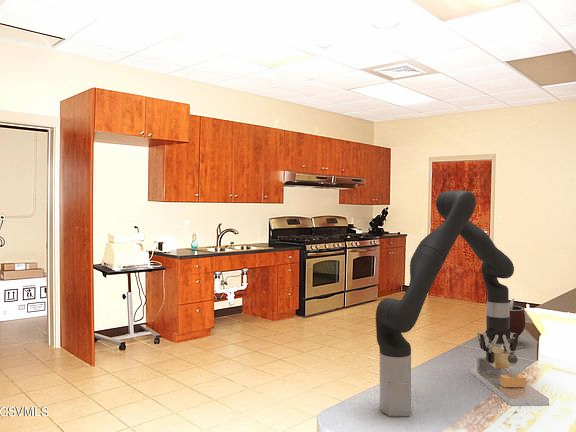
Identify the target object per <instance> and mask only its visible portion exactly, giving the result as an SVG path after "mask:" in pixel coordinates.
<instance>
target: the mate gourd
mask: <svg viewBox="0 0 576 432" xmlns="http://www.w3.org/2000/svg"><path fill="white" fill-rule="evenodd" d="M514 301H515V298H511V300H510V301H509V310H510V328H509V330H510V332H511V333H516V334H518V335H519V336H520V335H521V334H522V333H523V332H524V330H525V327H526V315H525V309H524V307H522V306H518V305H514V303H515V302H514ZM507 341H508V344H510V341H511V338H510V336H509V338H508V339H507ZM501 346H502V344H500V343H499V344H495V347H501ZM523 348H524V344H522V343H521V342H517V346H516V350H521V349H523Z"/></svg>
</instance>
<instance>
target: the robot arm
mask: <svg viewBox="0 0 576 432" xmlns="http://www.w3.org/2000/svg"><path fill="white" fill-rule="evenodd" d="M476 203H477V200H476V196H475V195H474V193H473V192H471V191H469V190H447V191H446V190H445V191H443V192H441V193H439V194H438V196H437V197H436V200H435V209H436V211H437V213H438V214H439V215H440V216H441V218H442V219H443V222H442V223H441V224H440V225H439V226H438V227H437V228H435V229H433V230H432V231H431V232H430V233H429V234H427V235H426V236H425V237H424V238H423V239H422V240H421V241H420V242H419V243H418V245H417V247H416V249H415V251H414V253H412V256H411V258H410V261H409V275H410V276H409V277H410V278H409V284H408V287H407V288H406V291H405V293H404V295H403V297H402V298H401V299H396V298H393V297H386V298H383V299H382V300H380V302H378V305H377V307H376V310H375V311H376V312H375V329H376V331H375V333H376V334H375V335H376V342H377V344H378V347H379V410H380V411H381V412H382V413H383V414H385V415H387V417H410V416H411V413H412V345H411V344H410V342H409V341H408V340H407V339H406V338H405V337H404V336H403V334H406V333H408V332H410V331H411V330H412V329H413V328H414V326H415V325H416V324H417V321H418V319H419V317H420V314H421V311H422V309H423V307H424V304H425V301H426V298H427V296H428V294H429V291H430V290H431V288H432V286H433V284H434V282H435V281H436V278H437V276H438V274H439V273H440V271H441V270H442V268H443V265H444V264H445V261H446V260H447V257H448V255H449V253H450V252H451V250H452V248H453V246H454V244H455V242H456V241H457V239H458V238H459V236H460V237H462V239H463V240H465V242H466V243H467V245H468V246H469V248H470V249H471V250H472V251H473V253H474V255H475V256H476V257H477V258H478V260H479V261H481V274H482V278H483V281H484V285H485V288H486V306H485V314H486V315H485V319H486V321H485V322H486V323H485V325H486V326H485V327H486V330H485V332H481V333H480V332H478V333H477V339H478V342H479V348H480V349H481V350H483V352H485V353H486V354H485V357H486V360H487V361H488V362H489V363H492V353H491V352H492V350H493V347H496V346H495V344H499V343H500V344H502V346H503V348H504V350H505V351H507V352H508V353H510V352H511V351H513V352H515V351H516V350H517V349H516V346H517V342H518V340H519V337H520V335H518V334H516V333H511V332H510V330H509V328H510V310H509V303H510V301H509V300H510V297H509V288H508V286H507V285H505V284H503V283H500V281H499V279H504V280H505V279H509V278H511V277H513V275H514V271H515V266H514V263H513V261H512V260H511V258H510V257H508V255H506V253H504V252H502V250H501V249H499V248H498V247H497V246H496V245H495V243H494V242H493V240H492V239H491V237H490V236H489V235H488V234H487V233H486V232H485V231H484V230H483V229H481V228H480V227H479V226H478V225H476V224H475V223H473V222H472V221H470V219H471V218H472V216H473V215H474V212H475V210H476V205H477V204H476ZM402 333H403V334H402ZM509 336H510V338H511V341H510V345H509V344H508V341H507V339H508V338H509ZM486 337H487V339H488V340H487V342H486ZM518 343H519V342H518ZM510 354H511V353H510Z"/></svg>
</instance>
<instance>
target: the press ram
mask: <svg viewBox="0 0 576 432" xmlns="http://www.w3.org/2000/svg"><path fill="white" fill-rule="evenodd" d="M518 360H519V359H518V356H517V355H516V354H513V353H510V355H509V356H508V361H509V368H508V371H509V375H500V384H501V385H502V386H503V387H526V383H527V382H526V380H527V379H526V377H525V376H523V375H522V374H517V362H518Z"/></svg>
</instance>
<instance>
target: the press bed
mask: <svg viewBox="0 0 576 432" xmlns="http://www.w3.org/2000/svg"><path fill="white" fill-rule="evenodd" d="M470 374H471V375H473V376H474V377H475V378H477V380H479V381H480V382H481V383H482V384H483V385H485V386H486V387H487V388H489V389H490V390H491V391H492V392H493V393H495V395H497V397H499V398H500V399H502V400H503V401H504V402H505V403H507V405H509V406H549V405H550V399H549V398H548V396H546V395H545V394H543V393H541V392H540V391H538V389H535V388H534V387H532V386H531V385H530V384H528V383H527V382H526V387H503V386H502V385H501V384H500V375H509V369H507V368H495V367H493V366H492V365H491V364H489V363H488V362H487V361H486V356H485V357H484V356H480V357H479V356H478V357H476V367H470Z"/></svg>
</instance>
